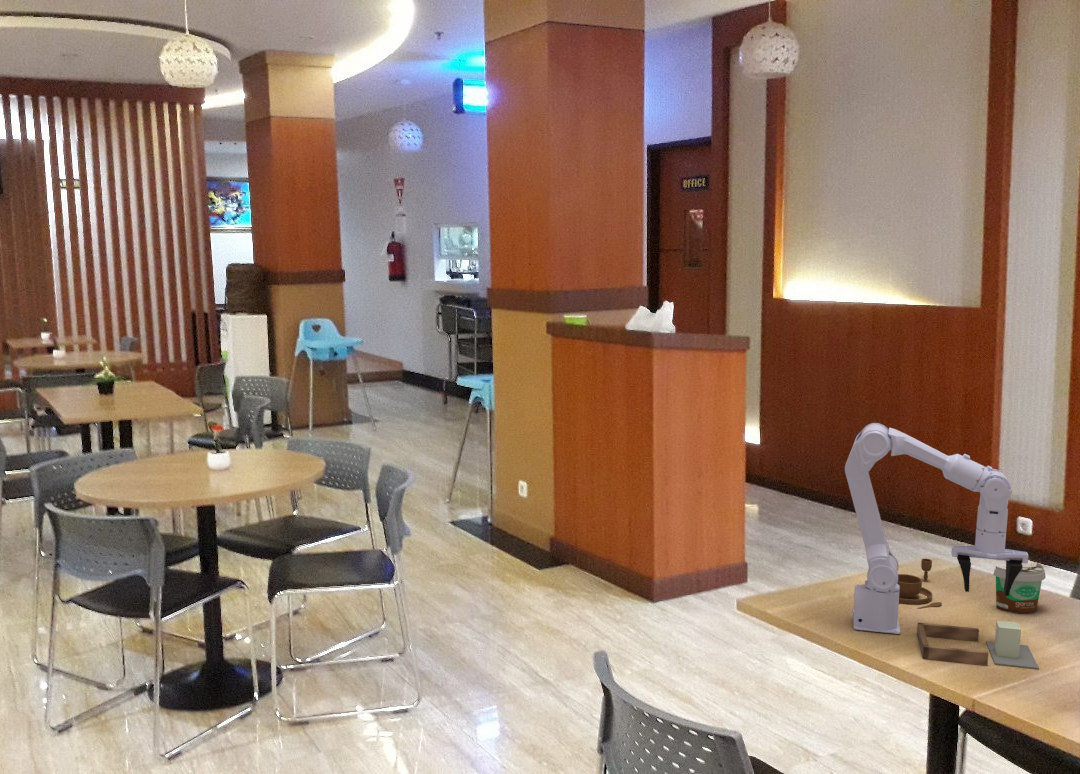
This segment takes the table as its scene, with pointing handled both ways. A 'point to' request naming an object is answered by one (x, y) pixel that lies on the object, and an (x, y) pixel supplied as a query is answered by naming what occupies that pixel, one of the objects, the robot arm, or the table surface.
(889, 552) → the robot arm
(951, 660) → the open side box
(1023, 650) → the mat
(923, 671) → the table surface
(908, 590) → the place setting
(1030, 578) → the food container
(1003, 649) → the sage block
